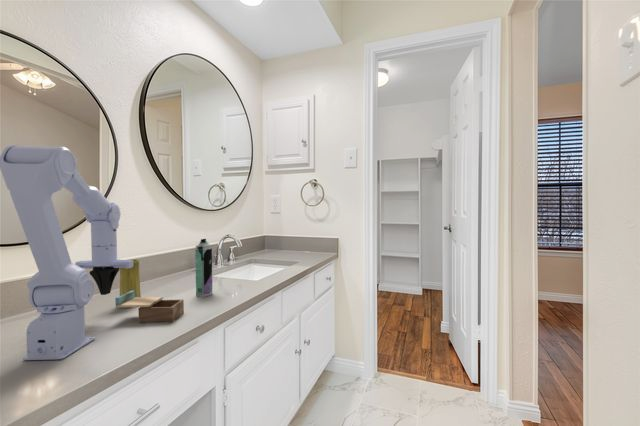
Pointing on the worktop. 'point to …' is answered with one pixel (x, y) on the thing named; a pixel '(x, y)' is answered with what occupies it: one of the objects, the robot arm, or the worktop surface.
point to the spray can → (203, 269)
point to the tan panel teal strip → (135, 300)
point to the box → (161, 311)
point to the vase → (130, 279)
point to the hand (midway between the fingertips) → (105, 293)
